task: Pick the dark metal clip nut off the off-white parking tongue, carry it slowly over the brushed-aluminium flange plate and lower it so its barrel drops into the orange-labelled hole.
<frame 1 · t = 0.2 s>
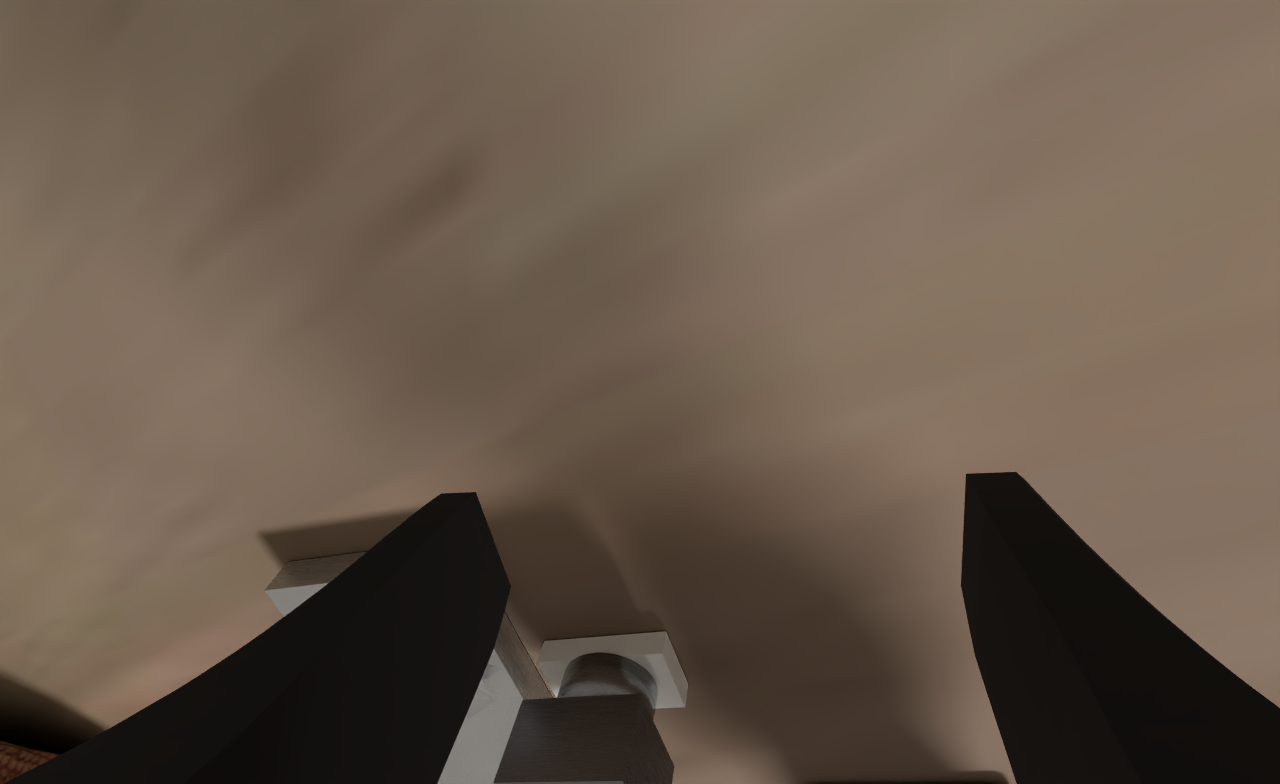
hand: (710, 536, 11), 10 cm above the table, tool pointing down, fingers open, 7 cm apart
flange plate: (450, 673, 30), on the table
parking tongue: (616, 662, 28), on the table
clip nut: (610, 684, 27), point 1 cm above the table, touching parking tongue
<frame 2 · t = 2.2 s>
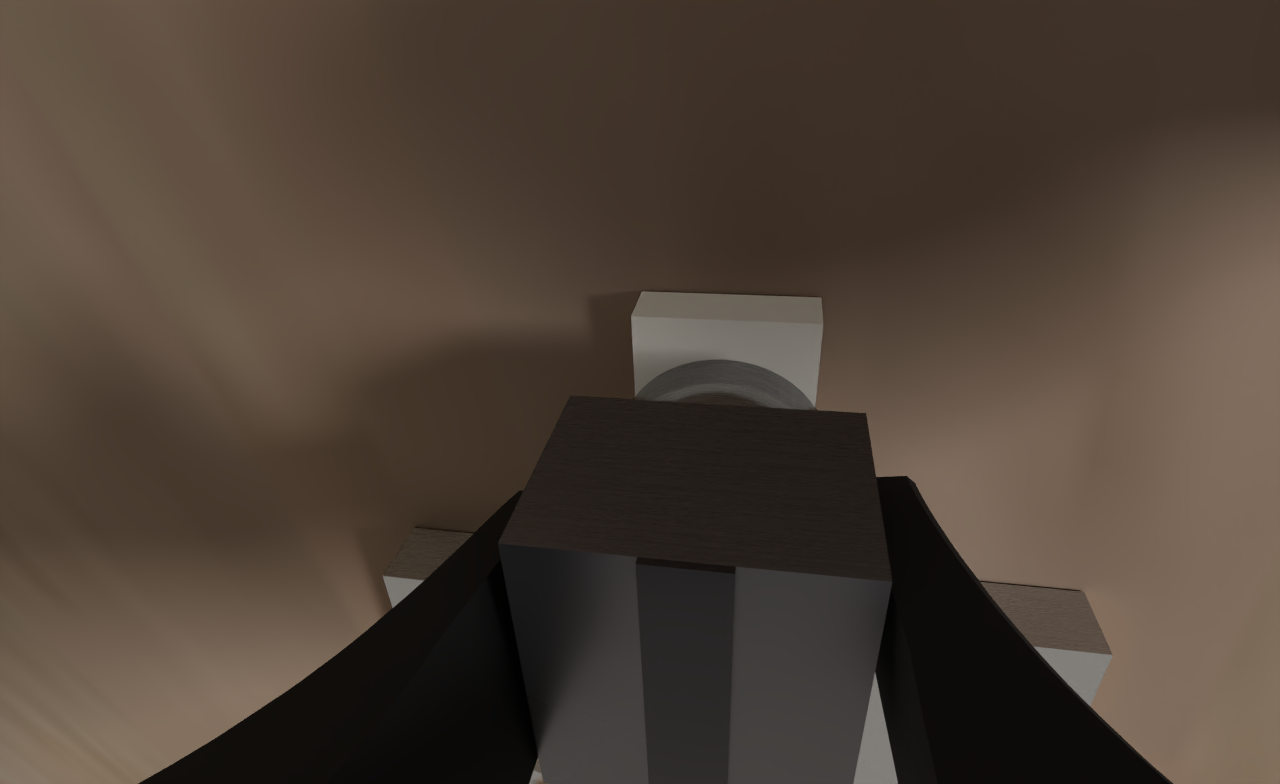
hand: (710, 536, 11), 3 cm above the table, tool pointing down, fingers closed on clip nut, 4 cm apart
flange plate: (719, 680, 17), on the table
parking tongue: (726, 418, 14), on the table
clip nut: (722, 450, 13), point 1 cm above the table, touching gripper, parking tongue
when the fingers open (4 cm above the table, at t = 8.6 s): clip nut drops 2 cm, resting in flange plate.
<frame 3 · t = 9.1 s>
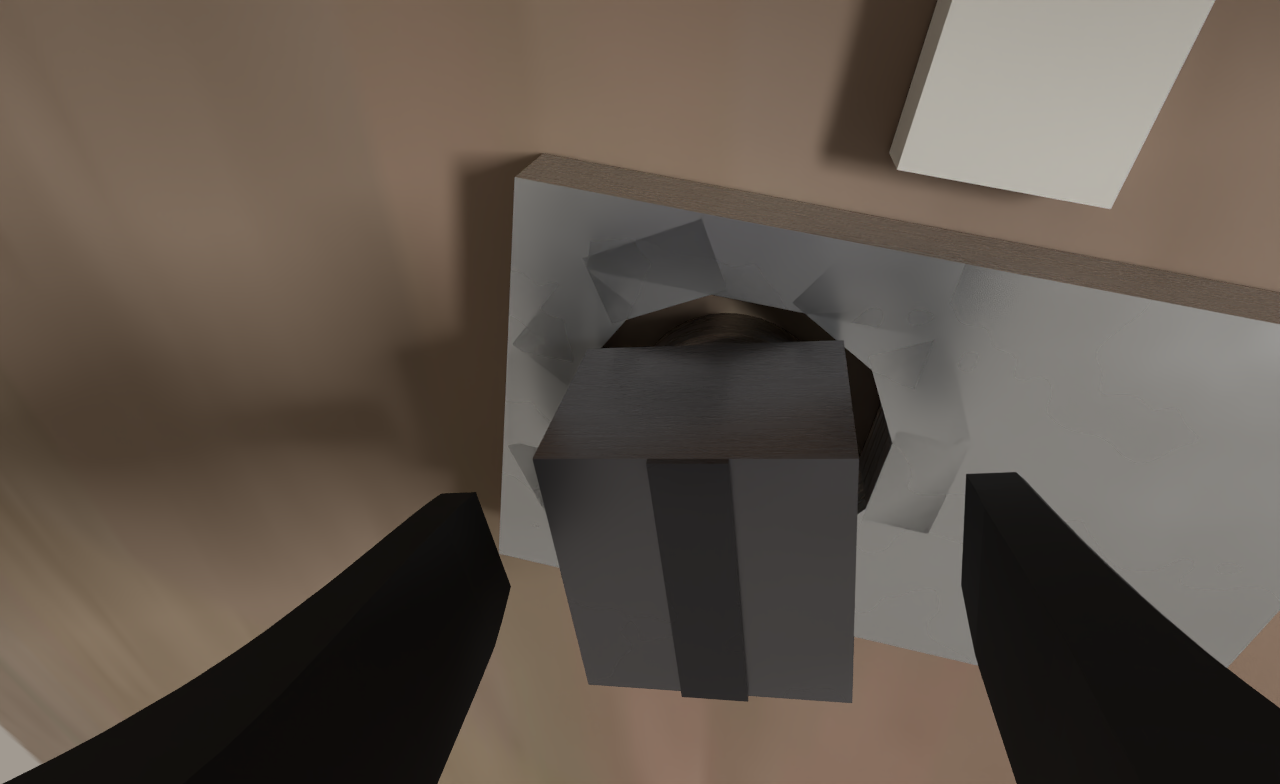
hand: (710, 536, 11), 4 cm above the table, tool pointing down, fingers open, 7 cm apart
flange plate: (883, 431, 14), on the table
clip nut: (729, 397, 14), resting in flange plate
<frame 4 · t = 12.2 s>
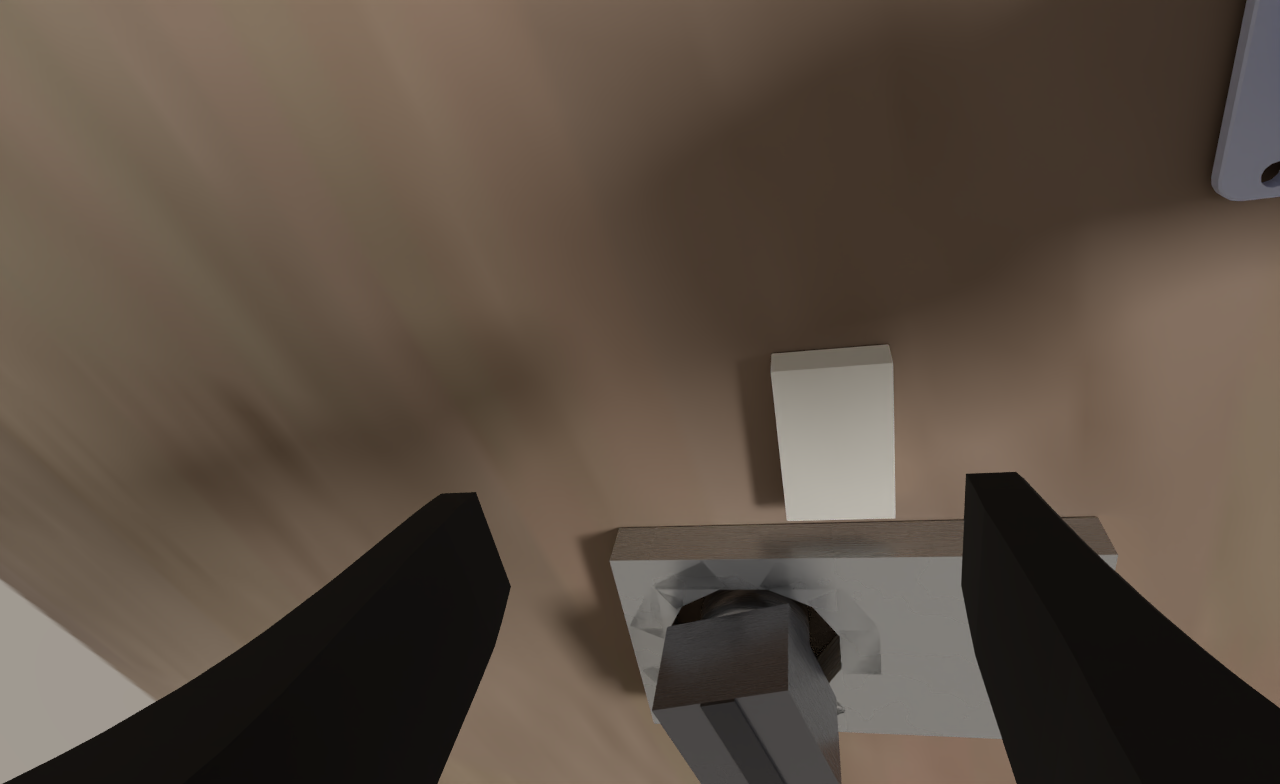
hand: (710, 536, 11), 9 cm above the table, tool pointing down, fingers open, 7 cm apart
flange plate: (845, 615, 24), on the table
parking tongue: (833, 427, 20), on the table
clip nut: (754, 614, 25), resting in flange plate
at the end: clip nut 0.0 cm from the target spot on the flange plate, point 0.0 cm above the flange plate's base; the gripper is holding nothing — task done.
